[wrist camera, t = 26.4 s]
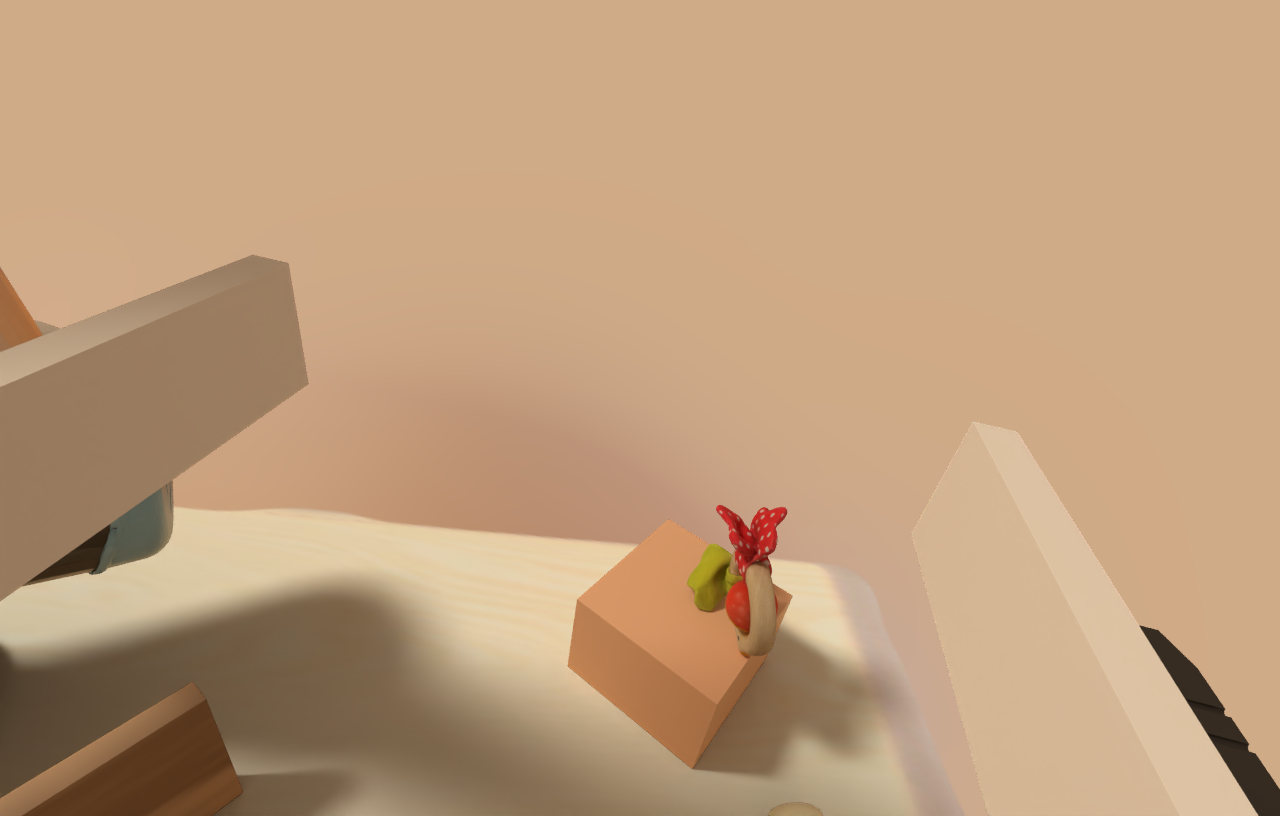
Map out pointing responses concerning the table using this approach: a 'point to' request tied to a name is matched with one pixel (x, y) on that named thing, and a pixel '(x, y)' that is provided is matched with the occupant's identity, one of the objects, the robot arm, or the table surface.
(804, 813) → the tan piece
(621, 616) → the terracotta stand
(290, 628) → the table surface
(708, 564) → the bird rattle
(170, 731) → the walnut slot
